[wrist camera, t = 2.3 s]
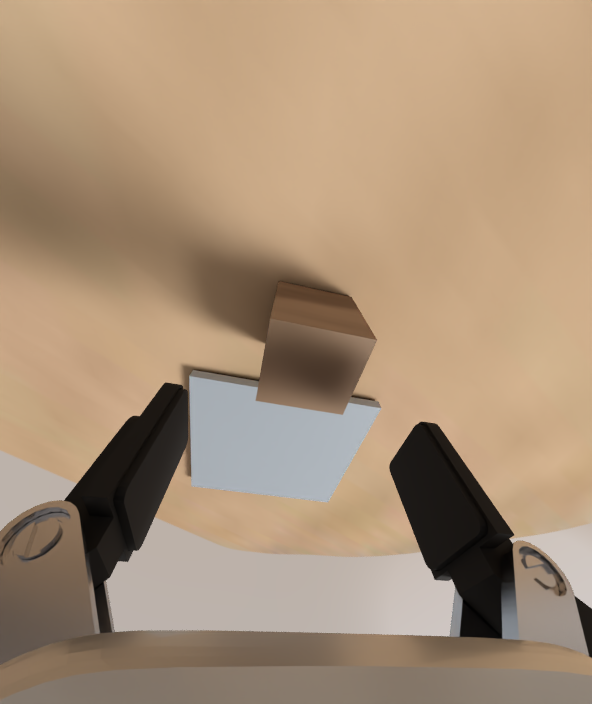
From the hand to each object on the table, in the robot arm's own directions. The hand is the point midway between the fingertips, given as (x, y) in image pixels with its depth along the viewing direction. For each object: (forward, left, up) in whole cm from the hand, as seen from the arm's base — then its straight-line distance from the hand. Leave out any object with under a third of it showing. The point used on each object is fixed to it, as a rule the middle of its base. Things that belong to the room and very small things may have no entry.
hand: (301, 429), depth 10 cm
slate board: (+13, 0, -9) cm, 16 cm away
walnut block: (-1, 0, -9) cm, 9 cm away
